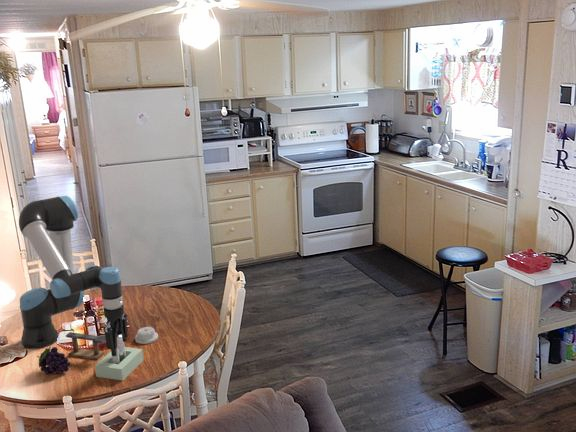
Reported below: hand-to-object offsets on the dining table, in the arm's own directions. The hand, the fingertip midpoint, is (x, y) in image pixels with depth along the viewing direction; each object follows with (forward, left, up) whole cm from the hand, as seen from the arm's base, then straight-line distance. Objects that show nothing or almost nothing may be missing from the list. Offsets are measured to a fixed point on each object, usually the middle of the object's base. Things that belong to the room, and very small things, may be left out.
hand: (119, 358), depth 227 cm
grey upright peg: (0, 0, -1) cm, 1 cm away
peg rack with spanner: (-19, +6, -4) cm, 20 cm away
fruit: (-25, -8, -4) cm, 27 cm away
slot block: (0, 0, -4) cm, 4 cm away
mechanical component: (-2, +25, -5) cm, 26 cm away
